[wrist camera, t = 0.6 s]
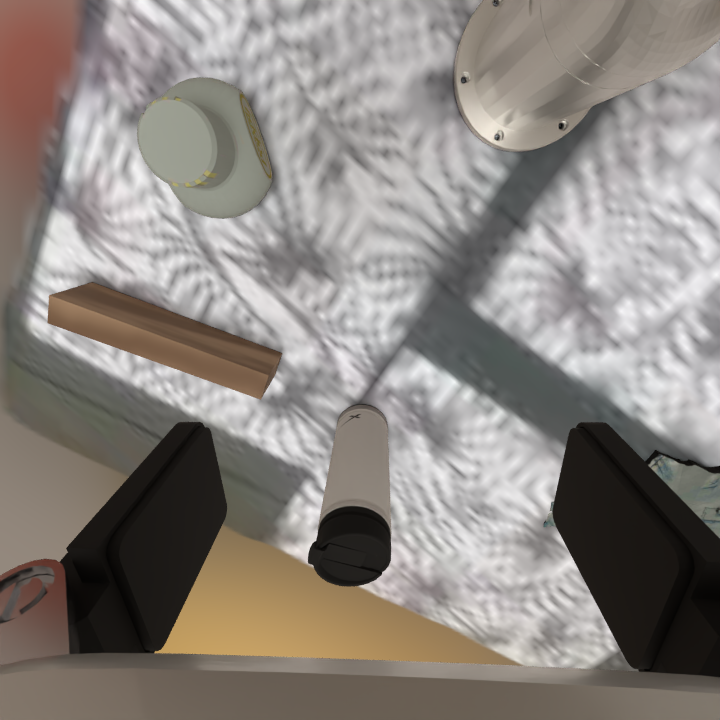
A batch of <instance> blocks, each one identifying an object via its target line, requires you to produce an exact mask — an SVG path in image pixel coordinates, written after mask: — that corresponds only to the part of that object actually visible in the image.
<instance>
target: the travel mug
mask: <svg viewBox="0 0 720 720" xmlns="http://www.w3.org/2000/svg"><path fill="white" fill-rule="evenodd" d="M390 561H391V509H390V480H389V451H388V426H387V421H386V418H385V417H384V415H383V414H382V413H381V412H380V411H379V410H377V409H376V408H374V407H372V406H368V405H355V406H352V407H350V408H348V409H346V410H345V411H344V412H343V413H342V414H341V415H340V417H339V419H338V423H337V428H336V433H335V439H334V444H333V450H332V455H331V460H330V466H329V471H328V477H327V482H326V487H325V493H324V498H323V504H322V509H321V514H320V520H319V525H318V536H317V540H316V541H315V542H314V543H313V544H312V546H311V548H310V550H309V555H308V563H309V564H312V565H313V566H314V569H315V571H316V572H317V574H318V575H319V576H320V577H321V578H322V579H324V580H325V581H327V582H329V583H332V584H335V585H339V586H359V585H364V584H367V583H370V582H372V581H374V580H376V579H377V578H378V577H379V576H381V575H382V572H383V571H384V570H386V568H387V567H388V566H389V563H390Z"/></svg>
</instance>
